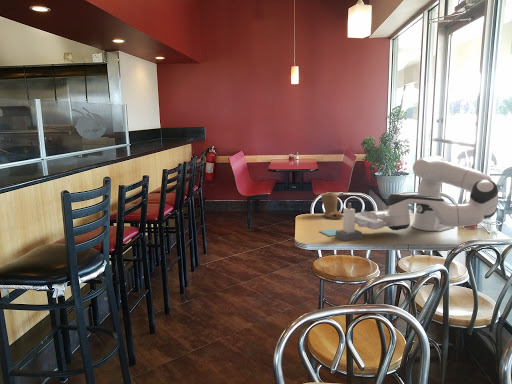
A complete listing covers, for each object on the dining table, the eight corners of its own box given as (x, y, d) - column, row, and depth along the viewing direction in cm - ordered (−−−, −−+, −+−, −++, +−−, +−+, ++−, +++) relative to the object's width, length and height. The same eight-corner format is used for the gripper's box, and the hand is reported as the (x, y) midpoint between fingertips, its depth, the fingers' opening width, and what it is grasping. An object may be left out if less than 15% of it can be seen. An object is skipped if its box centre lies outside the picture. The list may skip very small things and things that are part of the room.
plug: (349, 236, 207) (350, 201, 204) (354, 238, 204) (355, 203, 201) (342, 237, 206) (343, 202, 203) (347, 239, 202) (348, 204, 199)
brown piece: (319, 214, 257) (320, 190, 255) (338, 213, 257) (339, 190, 255) (323, 219, 242) (324, 195, 240) (343, 219, 242) (344, 194, 240)
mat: (335, 229, 220) (335, 228, 220) (346, 234, 211) (346, 233, 211) (319, 231, 217) (319, 230, 216) (329, 236, 208) (330, 235, 207)
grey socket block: (352, 234, 210) (352, 228, 210) (361, 238, 203) (361, 231, 203) (335, 237, 206) (335, 230, 206) (344, 241, 199) (344, 234, 199)
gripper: (389, 230, 200) (366, 234, 194) (362, 221, 218) (340, 224, 213) (389, 218, 199) (366, 221, 193) (362, 210, 217) (341, 212, 212)
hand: (352, 223), depth 203 cm, fingers open, 8 cm apart
